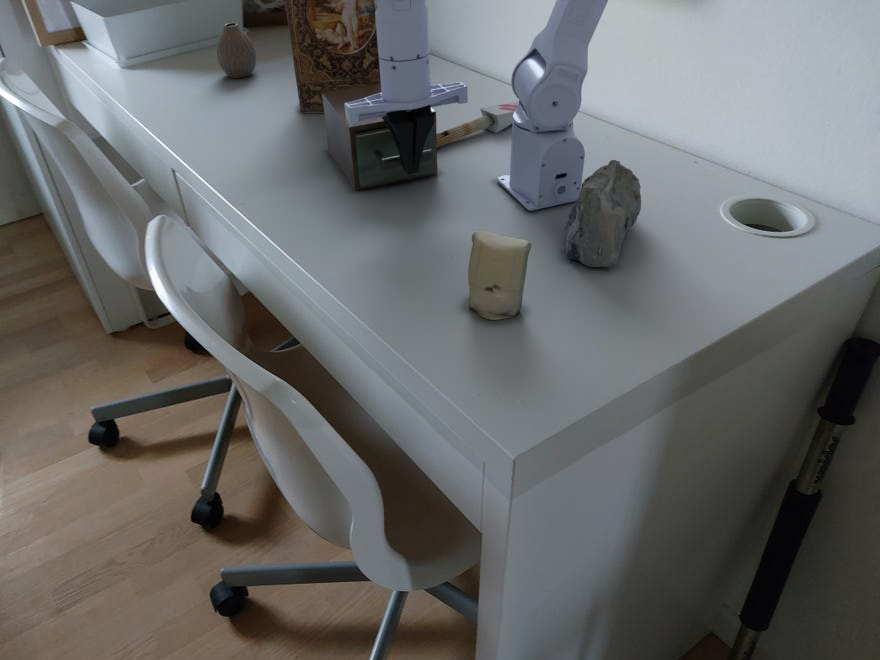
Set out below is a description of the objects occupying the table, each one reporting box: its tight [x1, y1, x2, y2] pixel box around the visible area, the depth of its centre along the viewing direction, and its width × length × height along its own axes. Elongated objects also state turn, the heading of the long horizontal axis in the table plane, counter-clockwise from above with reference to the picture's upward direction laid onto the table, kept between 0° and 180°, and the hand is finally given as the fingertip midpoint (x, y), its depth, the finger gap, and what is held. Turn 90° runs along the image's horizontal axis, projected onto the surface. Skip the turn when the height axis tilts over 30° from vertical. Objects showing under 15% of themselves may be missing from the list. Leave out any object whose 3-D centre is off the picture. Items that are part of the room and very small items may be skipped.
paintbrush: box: [437, 101, 519, 148], centre depth 106 cm, size 4×3×20 cm
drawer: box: [354, 122, 436, 187], centre depth 94 cm, size 17×10×7 cm, turn 19°
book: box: [284, 0, 381, 114], centre depth 109 cm, size 16×6×25 cm, turn 84°
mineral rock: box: [564, 159, 642, 268], centre depth 78 cm, size 13×11×10 cm
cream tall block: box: [467, 230, 532, 321], centre depth 69 cm, size 6×5×8 cm
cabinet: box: [322, 83, 438, 192], centre depth 97 cm, size 14×12×9 cm
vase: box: [216, 22, 257, 79], centre depth 130 cm, size 7×7×9 cm
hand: (411, 170), depth 88 cm, fingers closed, pressing on drawer
